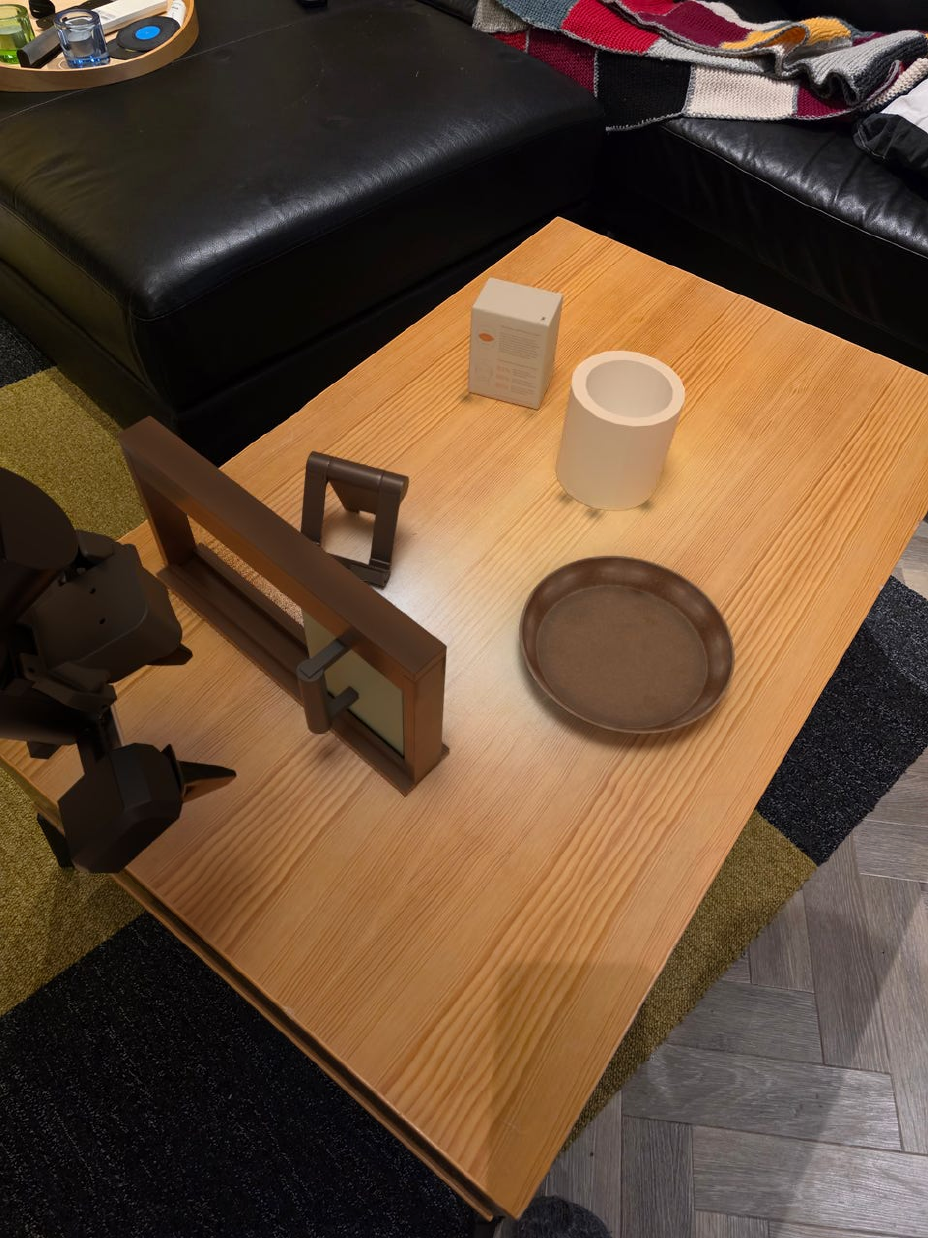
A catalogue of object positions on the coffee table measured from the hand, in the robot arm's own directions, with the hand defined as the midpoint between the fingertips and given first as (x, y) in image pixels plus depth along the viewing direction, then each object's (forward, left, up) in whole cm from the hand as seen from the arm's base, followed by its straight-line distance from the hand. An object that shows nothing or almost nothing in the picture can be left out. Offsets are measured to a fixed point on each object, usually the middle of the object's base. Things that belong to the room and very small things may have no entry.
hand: (209, 715), depth 54 cm
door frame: (+11, +7, -13) cm, 18 cm away
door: (+9, -1, -12) cm, 15 cm away
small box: (+50, +16, -13) cm, 54 cm away
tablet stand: (+23, +12, -13) cm, 29 cm away
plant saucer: (+30, -13, -13) cm, 35 cm away
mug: (+48, +1, -13) cm, 50 cm away
